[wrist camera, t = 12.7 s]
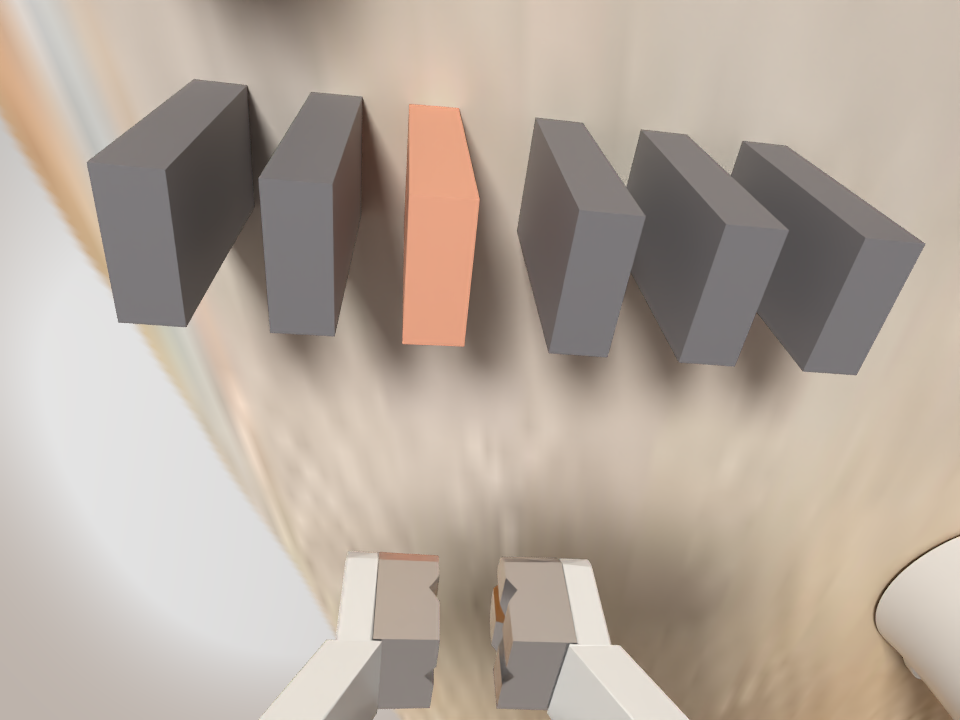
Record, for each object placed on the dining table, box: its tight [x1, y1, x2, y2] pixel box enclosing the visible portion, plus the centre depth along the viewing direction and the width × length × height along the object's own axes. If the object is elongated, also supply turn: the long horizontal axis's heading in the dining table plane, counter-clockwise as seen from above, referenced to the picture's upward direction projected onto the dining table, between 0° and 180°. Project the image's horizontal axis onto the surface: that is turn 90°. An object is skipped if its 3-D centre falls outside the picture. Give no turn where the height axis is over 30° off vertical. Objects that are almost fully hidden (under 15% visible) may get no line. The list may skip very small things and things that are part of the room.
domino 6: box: [731, 141, 925, 375], centre depth 27 cm, size 2×5×10 cm, turn 173°
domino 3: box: [402, 104, 480, 346], centre depth 25 cm, size 2×5×10 cm, turn 175°
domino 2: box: [258, 92, 362, 336], centre depth 24 cm, size 2×5×10 cm, turn 174°
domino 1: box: [87, 79, 255, 327], centre depth 24 cm, size 2×5×10 cm, turn 173°
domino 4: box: [517, 118, 646, 357], centre depth 25 cm, size 2×5×10 cm, turn 173°
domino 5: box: [627, 130, 789, 366], centre depth 26 cm, size 2×5×10 cm, turn 173°
